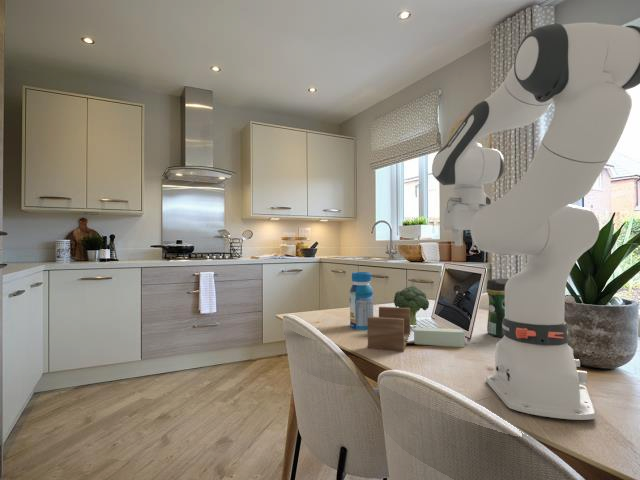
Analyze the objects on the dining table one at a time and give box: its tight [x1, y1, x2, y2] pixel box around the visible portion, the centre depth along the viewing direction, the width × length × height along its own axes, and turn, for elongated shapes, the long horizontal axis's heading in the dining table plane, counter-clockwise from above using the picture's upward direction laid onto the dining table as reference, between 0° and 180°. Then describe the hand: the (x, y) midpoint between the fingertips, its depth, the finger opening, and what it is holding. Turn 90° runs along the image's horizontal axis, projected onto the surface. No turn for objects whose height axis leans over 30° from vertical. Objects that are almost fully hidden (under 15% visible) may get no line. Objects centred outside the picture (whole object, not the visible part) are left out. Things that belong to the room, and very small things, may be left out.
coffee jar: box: [486, 277, 509, 338], centre depth 124 cm, size 10×8×19 cm
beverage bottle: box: [349, 271, 375, 331], centre depth 133 cm, size 8×8×20 cm
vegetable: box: [393, 285, 430, 326], centre depth 135 cm, size 12×13×15 cm
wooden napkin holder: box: [367, 306, 411, 353], centre depth 116 cm, size 20×10×9 cm, turn 161°
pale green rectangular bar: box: [413, 327, 465, 348], centre depth 113 cm, size 14×4×4 cm, turn 78°
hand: (467, 245), depth 112 cm, fingers open, 8 cm apart
